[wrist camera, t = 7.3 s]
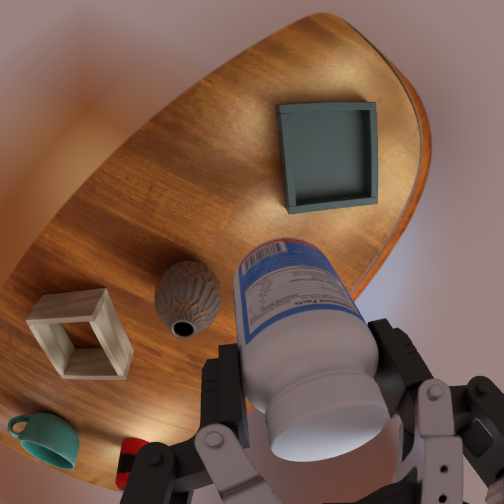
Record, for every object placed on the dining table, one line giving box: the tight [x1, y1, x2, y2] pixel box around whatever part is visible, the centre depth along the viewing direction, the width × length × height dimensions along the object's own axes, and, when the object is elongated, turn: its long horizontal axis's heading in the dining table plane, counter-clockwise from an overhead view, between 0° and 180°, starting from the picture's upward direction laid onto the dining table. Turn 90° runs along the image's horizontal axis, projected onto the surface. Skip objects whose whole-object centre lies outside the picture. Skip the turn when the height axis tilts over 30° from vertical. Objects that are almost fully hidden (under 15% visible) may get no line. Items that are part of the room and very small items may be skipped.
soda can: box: [116, 439, 148, 493], centre depth 47 cm, size 8×8×12 cm
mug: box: [8, 413, 79, 470], centre depth 43 cm, size 17×13×10 cm
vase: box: [154, 261, 221, 339], centre depth 30 cm, size 7×7×9 cm
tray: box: [276, 102, 378, 214], centre depth 28 cm, size 11×10×2 cm
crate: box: [26, 288, 134, 380], centre depth 34 cm, size 11×11×6 cm
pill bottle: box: [233, 237, 389, 461], centre depth 13 cm, size 6×5×10 cm
